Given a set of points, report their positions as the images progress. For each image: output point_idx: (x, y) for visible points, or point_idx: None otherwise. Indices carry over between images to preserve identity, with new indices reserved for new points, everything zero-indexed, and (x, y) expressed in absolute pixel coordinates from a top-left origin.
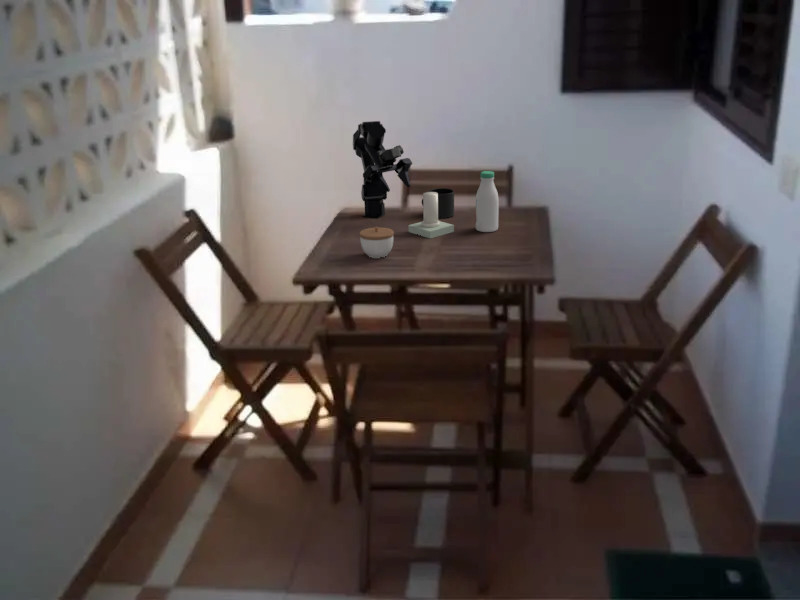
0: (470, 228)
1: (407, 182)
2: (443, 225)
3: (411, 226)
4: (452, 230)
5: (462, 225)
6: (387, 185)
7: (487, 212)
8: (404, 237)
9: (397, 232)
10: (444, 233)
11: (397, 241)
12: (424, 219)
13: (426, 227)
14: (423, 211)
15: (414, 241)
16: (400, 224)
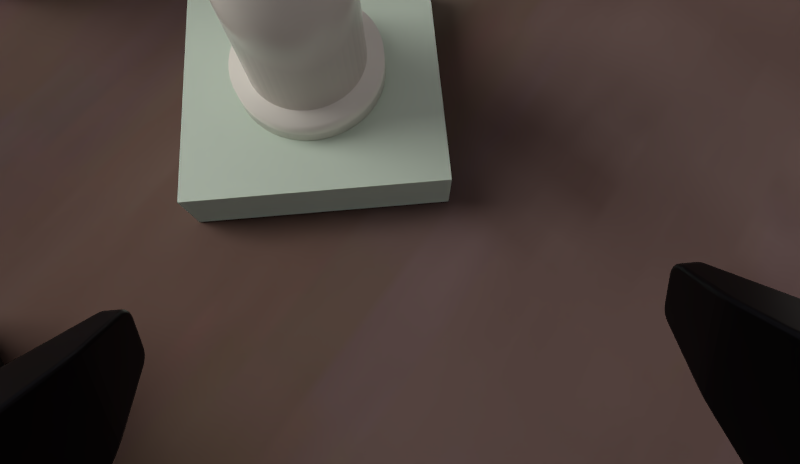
0: (73, 10)
1: (89, 363)
2: None
3: (446, 146)
4: None
5: (48, 91)
6: (761, 305)
7: None
8: (551, 115)
9: (523, 249)
10: None
11: (643, 73)
12: (363, 44)
13: None
14: (347, 17)
15: (546, 9)
16: (362, 434)
